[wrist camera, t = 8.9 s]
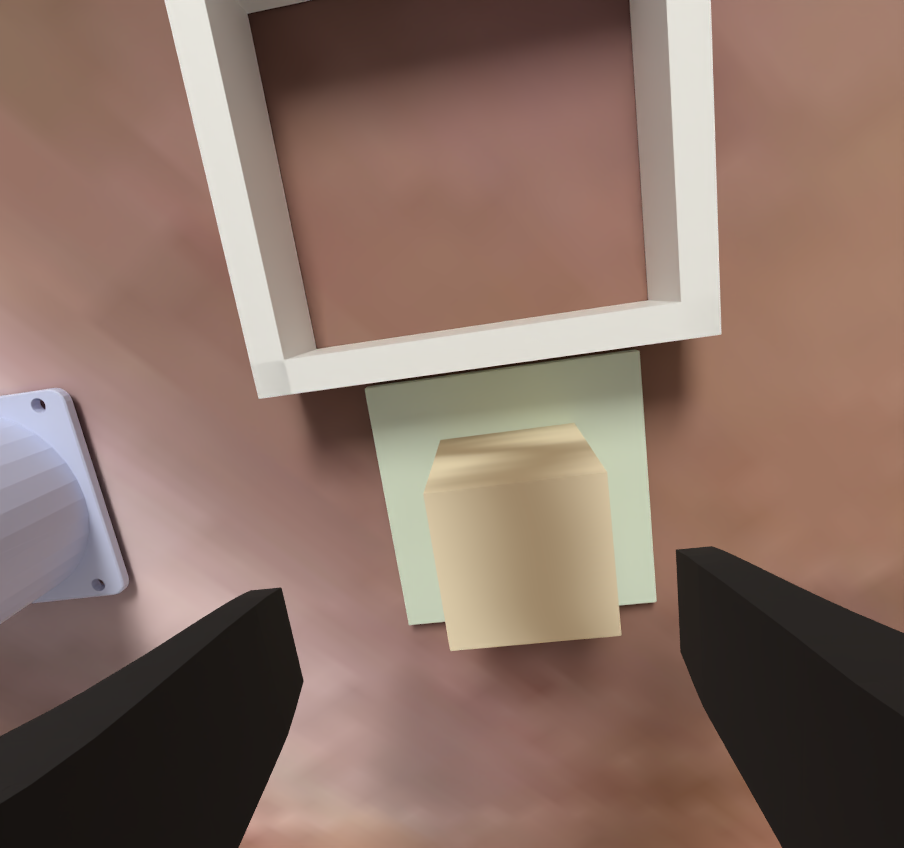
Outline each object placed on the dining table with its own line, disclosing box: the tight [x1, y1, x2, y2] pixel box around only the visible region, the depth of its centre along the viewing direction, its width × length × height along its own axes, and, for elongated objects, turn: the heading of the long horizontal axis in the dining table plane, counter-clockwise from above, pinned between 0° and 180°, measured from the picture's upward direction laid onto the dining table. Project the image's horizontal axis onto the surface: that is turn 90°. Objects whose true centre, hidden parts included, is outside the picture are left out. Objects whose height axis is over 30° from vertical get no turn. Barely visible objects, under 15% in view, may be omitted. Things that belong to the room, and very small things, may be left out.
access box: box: [165, 0, 721, 399], centre depth 15 cm, size 13×12×3 cm
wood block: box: [423, 423, 621, 651], centre depth 16 cm, size 4×4×5 cm
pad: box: [365, 349, 656, 625], centre depth 19 cm, size 9×9×1 cm
